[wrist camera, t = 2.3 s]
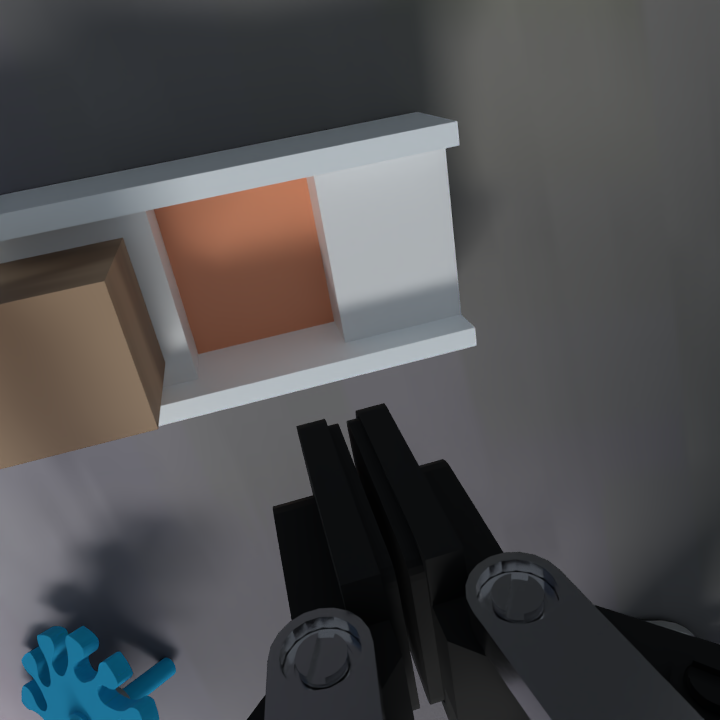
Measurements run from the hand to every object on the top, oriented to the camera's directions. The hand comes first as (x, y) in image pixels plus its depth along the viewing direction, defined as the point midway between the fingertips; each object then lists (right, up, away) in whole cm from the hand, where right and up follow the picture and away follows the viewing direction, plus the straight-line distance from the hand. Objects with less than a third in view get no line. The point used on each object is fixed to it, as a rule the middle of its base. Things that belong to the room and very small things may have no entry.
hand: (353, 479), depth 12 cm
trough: (-9, +5, +14) cm, 18 cm away
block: (-10, +4, +11) cm, 16 cm away
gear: (-14, -14, +22) cm, 30 cm away
